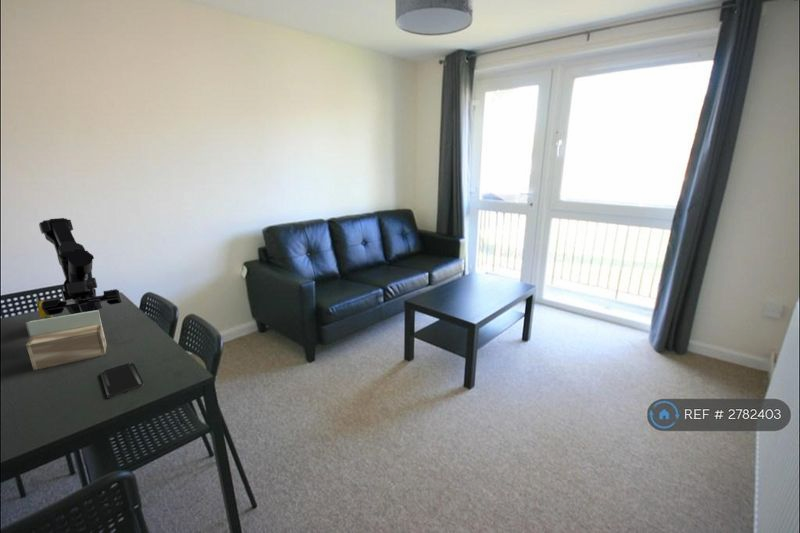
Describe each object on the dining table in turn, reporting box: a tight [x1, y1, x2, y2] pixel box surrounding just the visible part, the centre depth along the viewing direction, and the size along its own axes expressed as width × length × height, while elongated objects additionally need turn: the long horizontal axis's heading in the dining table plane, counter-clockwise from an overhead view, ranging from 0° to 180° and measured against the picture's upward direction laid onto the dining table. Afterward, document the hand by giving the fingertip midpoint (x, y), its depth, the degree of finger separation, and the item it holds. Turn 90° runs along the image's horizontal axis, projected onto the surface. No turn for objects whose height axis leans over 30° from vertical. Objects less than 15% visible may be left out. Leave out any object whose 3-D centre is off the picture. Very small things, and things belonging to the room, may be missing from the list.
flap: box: [24, 309, 107, 343], centre depth 111 cm, size 1×16×12 cm, turn 124°
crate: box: [25, 324, 107, 371], centre depth 109 cm, size 6×16×8 cm, turn 125°
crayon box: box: [35, 297, 54, 320], centre depth 126 cm, size 7×3×12 cm, turn 42°
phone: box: [99, 362, 145, 399], centre depth 100 cm, size 8×1×15 cm
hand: (86, 326), depth 114 cm, fingers closed, pressing on flap
